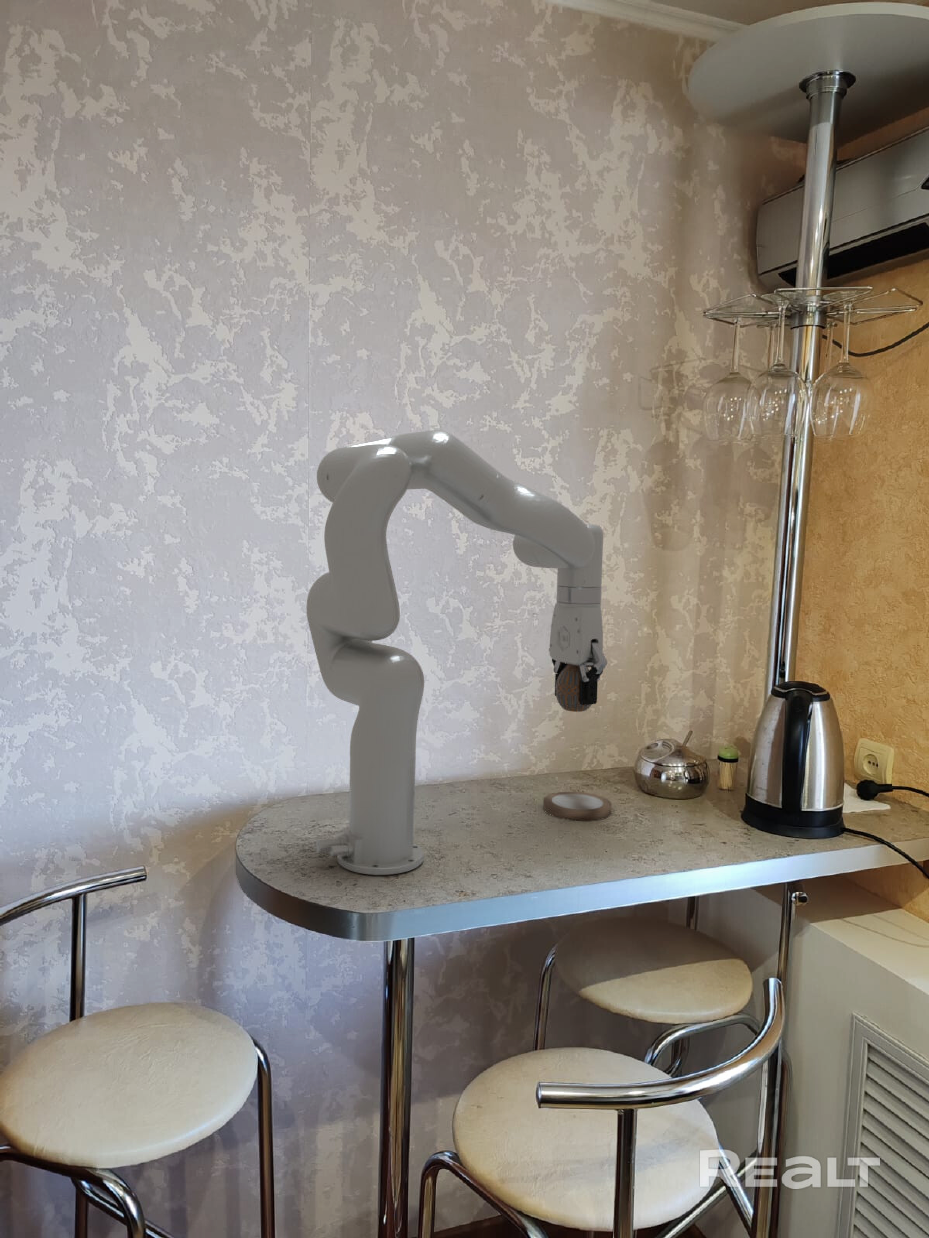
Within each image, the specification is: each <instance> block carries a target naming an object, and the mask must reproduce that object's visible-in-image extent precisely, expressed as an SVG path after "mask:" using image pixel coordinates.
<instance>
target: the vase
mask: <svg viewBox="0 0 929 1238" xmlns="http://www.w3.org/2000/svg"><path fill="white" fill-rule="evenodd" d="M589 670H590V669H589V667H587V671H588V672H589ZM580 681H583V679H582V674H581V670H580V666H575V665H571V664H567V665H566V667H565V668H564V669H563V670H562V671H561V673H560V674H559V676H558V679H557V682H556V696H555V697H556V700H557V701H556V702H557V703H558V704H559V706H560V707H561V708H562V709H563V710H564V711H567V712H576V713H579V712H580V713H581V712H586V711H588V710H589V709H590V708H591V706H592V705H593V704H589V705H581V704H580V703H579V699H580Z"/></svg>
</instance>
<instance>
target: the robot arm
mask: <svg viewBox="0 0 929 1238" xmlns="http://www.w3.org/2000/svg"><path fill="white" fill-rule="evenodd" d="M316 482H317V483H316V484H317V486H318V489H319V490H320V493H321V494H322V495H323V497H324V498H325V499H326V500H328V501H329V502H330V503H332V504H331V506H330V509H329V512H328V514H327V518H326V522H325V526H324V534H323V535H324V536H323V537H324V538H323V539H324V540H323V541H324V549H325V555H326V561H327V566H328V567H327V568H328V572H326V573H324V574H323V575H321V576H320V577H318V578H317V579H316V580H315V581H314V583H312V586H311V587H310V589H309V592H308V595H307V599H306V617H307V621H308V622H307V623H308V627H309V631H310V635H311V639H312V643H313V644H312V645H313V649H314V652H315V654H316V655H315V656H316V660H317V663H318V666H319V667H318V668H319V672H320V675H321V678H322V680H323V683H324V685H325V686H326V688H327V690H328V691H329V692H330V693H331V695H333V696H334V697H335V698H338V699H340V700H341V701H344V702H347V703H349V704H352V705H354V706H355V705H356V706H358V711H357V715H356V718H355V720H354V723H353V726H352V729H351V732H350V733H351V734H350V741H349V790H348V791H349V795H348V801H349V802H348V803H349V805H348V807H349V808H348V827H347V826H346V827H342V828H341V830H342V832H341V833H342V834H341V833H340V834H337V836H336V837H333V838H329V837H326V838H319V839H316V840H315V850H316V853H317V854H322V853H329V855H330V856H331V857H335V856H337V857H336V858H337V863H338V864H339V865H340V866H341V867H342V868H344V869H345V870H347V871H351V872H353V873H354V872H355V873H357V874H364V875H370V876H371V875H373V876H374V875H375V876H387V875H396V874H402V873H406V872H410V871H412V870H414V869H416V868H418V867H420V865H422V864H423V861H424V850H423V849H422V848H421V846H419V845H418V844H416V843H414V832H415V828H414V827H415V798H416V797H415V795H416V752H417V751H416V750H417V731H418V729H417V728H418V722H419V721H418V720H419V715H420V709H421V704H422V701H423V696H424V690H425V677H424V675H425V674H424V672H423V668H422V667H421V665H420V663H419V661H418V660H417V659H416V658H415V657H414V656H413V655H412V654H410V653H409V652H407V651H405V650H404V649H401V648H399V647H395V646H390V645H387V644H386V645H385V644H381V643H374V642H373V641H375V642H376V641H381V640H384V639H386V638H388V637H390V636H391V635H392V634H393V633H394V632H396V630H397V628H398V625H399V623H400V618H401V612H400V603H399V597H398V593H397V588H396V583H395V579H394V574H393V571H392V565H391V560H390V557H389V556H390V555H389V551H388V543H387V530H388V525H389V521H390V518H391V516H392V513H393V512H394V510H395V508H396V507H397V505H398V503H400V501H401V500H402V499H403V497H404V495H405V494H406V492H407V491H408V490H425V489H426V490H427V491H430V492H431V493H433V494H435V496H437V497H439V498H440V499H441V500H443V501H444V502H446V503H447V504H448V505H450V506H451V507H452V508H454V509H455V510H456V511H458V512H459V513H461V514H462V516H464V517H466V519H468V520H469V521H471V522H472V523H474V524H476V525H478V526H482V527H484V528H486V529H490V530H493V531H497V532H500V533H506V534H510V535H514V537H513V541H512V549H513V550H512V551H513V552H514V555H515V557H516V558H517V559H518V561H520V562H521V563H523V564H524V565H526V566H529V567H534V568H542V569H557V576H556V577H557V578H556V581H557V582H556V585H557V586H556V601H555V604H554V607H553V611H552V618H551V625H550V635H549V636H550V637H549V648H548V653H549V656H550V658H551V662H552V665H553V673H554V696H555V697H556V682H557V679H558V676H559V674H560V673H561V671H562V670H563V669H564V668H565V667H566V665H567V664H571V665H575V666H580V670H581V674H582V679H583V681H580V699H579V703H580V704H581V705H589V704H592V705H596V704H597V702H598V683H599V681H600V679H601V675H602V674H603V672H604V670H605V668H606V666H607V664H608V660H607V658H606V656H605V655H604V653H603V649H604V631H603V628H604V627H603V616H602V608H601V606H602V605H601V604H602V585H603V584H602V580H603V579H602V578H603V577H602V575H603V553H604V551H603V549H604V531H603V529H602V527H600V526H599V525H597V524H592V523H585V522H584V521H583V520H582V519H580V517H578V516H577V515H576V514H575V513H574V512H573V511H571V509H568V507H566V506H565V505H563V504H562V503H560V502H558V501H556V500H554V498H551V497H550V496H546V495H545V494H542V493H540V492H538V491H536V490H533V489H531V488H530V487H528V486H526V485H524V484H521V483H519V482H516V481H515V480H512V479H510V478H508V477H506V476H505V475H503V474H502V473H501V472H500V471H499V470H498V469H496V468H495V467H494V466H492V465H491V464H490V463H489V462H488V461H486V460H485V459H484V458H482V457H481V456H480V455H479V454H478V453H477V452H475V451H474V450H472V449H471V448H470V447H469V446H467V445H466V444H465V443H464V442H463V441H462V440H460V439H459V438H458V437H456V436H455V435H453V434H452V433H449V432H447V431H444V430H436V429H435V430H425V431H417V432H408V433H402V434H399V435H394V436H390V437H387V438H382V439H378V440H372V441H368V442H364V443H358V444H354V445H349V446H348V445H347V446H343V447H339V448H335V449H332V450H330V452H327V453H326V455H325V456H324V457H323V458H322V459H321V461H320V463H319V465H318V467H317V469H316ZM587 667H588V668H590V669H589V672H588V671H587Z"/></svg>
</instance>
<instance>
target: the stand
mask: <svg viewBox="0 0 929 1238" xmlns="http://www.w3.org/2000/svg"><path fill="white" fill-rule="evenodd" d="M542 799H543V801H542V809H544V810H543V811H544V812H545V811H546V812H547V813H546V812H545V813H546V814H548V815H550V814H551V815H550V816H552V815H553V816H552V817H554V816H555V818H557V819H562V818H564V819H563V820H567V819H569V820H568V821H575V820H576V821H577V822H579V821H580V822H589V821H590V822H592V821H591V820H594V821H599V820H598V819H601V820H603V819H602V818H604V819H607V818H608V816H609V815H610V814H612V804H613V803H612V802H611V800H609V799H607V798H606V797H604V796H601V795H598V794H594V793H589V792H580V791H559V792H554V793H550V794H547V795H546V796H544V797H543V798H542ZM610 816H611V815H610ZM610 816H609V817H610ZM606 817H607V818H606ZM576 821H575V822H576Z"/></svg>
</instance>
